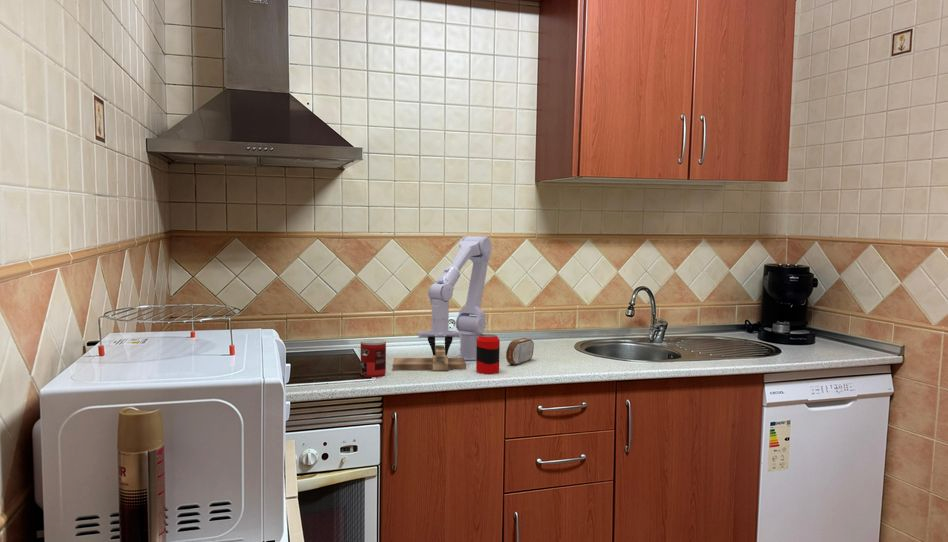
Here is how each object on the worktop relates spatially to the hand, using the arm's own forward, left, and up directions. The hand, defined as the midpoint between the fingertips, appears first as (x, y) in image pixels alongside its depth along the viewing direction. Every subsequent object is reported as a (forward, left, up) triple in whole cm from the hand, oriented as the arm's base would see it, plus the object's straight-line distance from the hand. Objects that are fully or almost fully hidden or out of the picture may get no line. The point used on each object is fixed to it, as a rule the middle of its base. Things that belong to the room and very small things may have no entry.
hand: (439, 358), depth 218 cm
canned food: (+22, +11, -3) cm, 24 cm away
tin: (-28, -5, -3) cm, 29 cm away
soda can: (-15, +8, -3) cm, 18 cm away
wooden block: (0, +1, -2) cm, 3 cm away
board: (+4, 0, -3) cm, 5 cm away
